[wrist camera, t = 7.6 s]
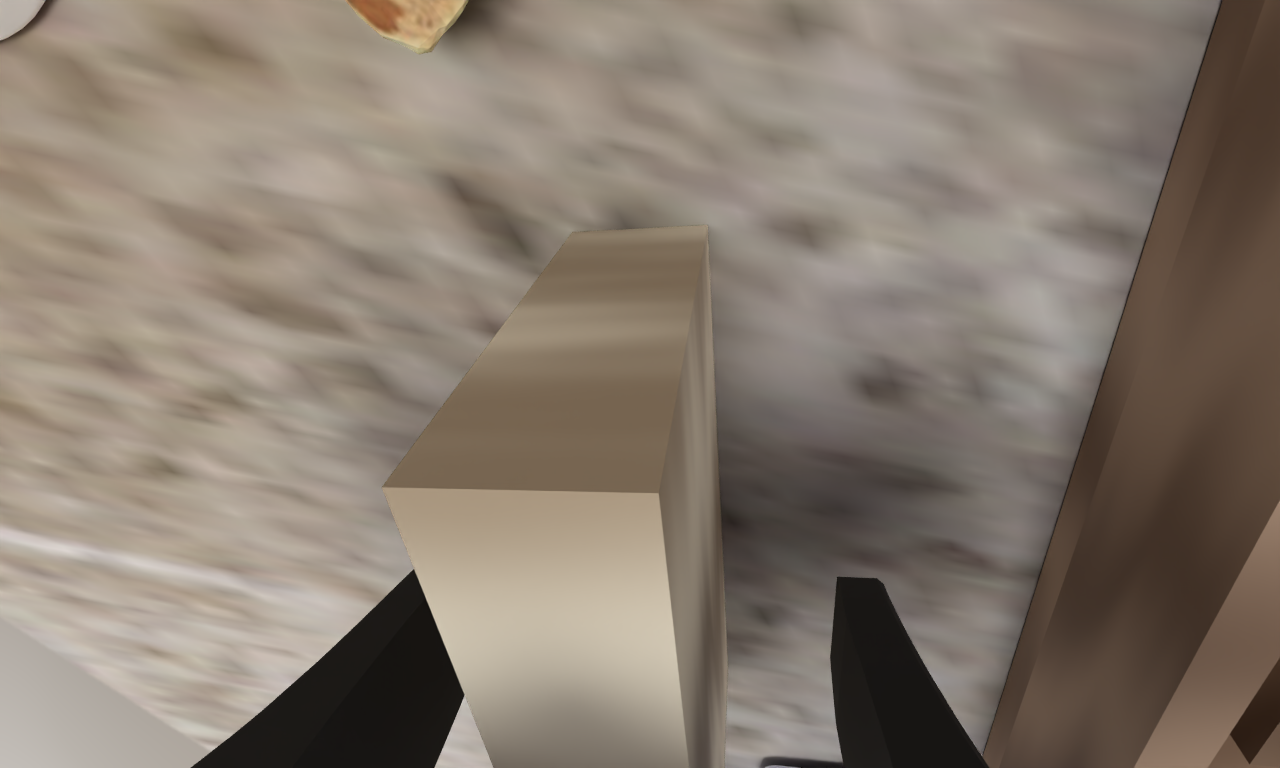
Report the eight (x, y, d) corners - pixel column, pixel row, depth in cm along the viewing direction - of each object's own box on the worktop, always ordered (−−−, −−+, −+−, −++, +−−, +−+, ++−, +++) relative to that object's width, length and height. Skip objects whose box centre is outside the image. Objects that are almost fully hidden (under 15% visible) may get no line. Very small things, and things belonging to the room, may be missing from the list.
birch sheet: (728, 662, 17) (716, 1016, 11) (640, 656, 17) (584, 994, 12) (707, 222, 11) (658, 492, 5) (573, 230, 11) (382, 487, 5)
